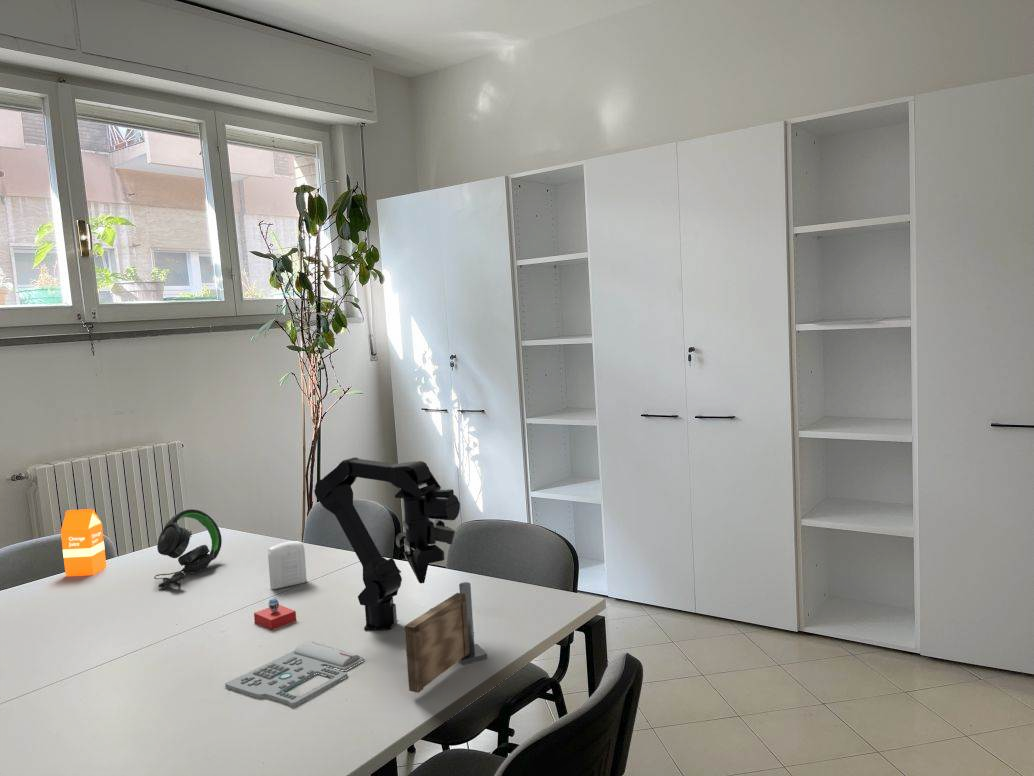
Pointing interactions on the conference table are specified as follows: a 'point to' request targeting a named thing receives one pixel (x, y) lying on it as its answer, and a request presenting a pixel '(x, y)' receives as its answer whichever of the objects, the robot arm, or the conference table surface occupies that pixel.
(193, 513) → the headset
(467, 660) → the gate post
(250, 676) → the office telephone
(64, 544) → the orange juice
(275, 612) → the joystick
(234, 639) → the conference table surface
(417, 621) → the gate
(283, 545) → the white tombstone
